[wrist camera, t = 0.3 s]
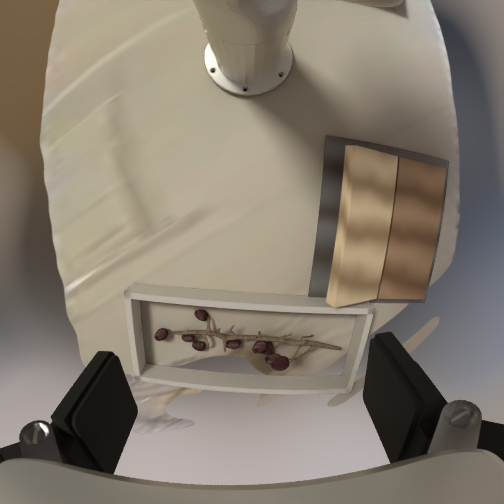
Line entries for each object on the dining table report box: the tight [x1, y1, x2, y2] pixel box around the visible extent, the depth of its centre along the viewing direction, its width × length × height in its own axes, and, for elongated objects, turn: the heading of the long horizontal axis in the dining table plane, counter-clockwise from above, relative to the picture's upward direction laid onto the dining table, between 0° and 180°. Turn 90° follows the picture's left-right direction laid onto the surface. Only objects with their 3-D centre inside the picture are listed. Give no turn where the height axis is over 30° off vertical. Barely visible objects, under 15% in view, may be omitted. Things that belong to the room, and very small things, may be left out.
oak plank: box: [326, 145, 398, 308], centre depth 41 cm, size 22×9×2 cm, turn 176°
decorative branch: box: [154, 310, 342, 371], centre depth 47 cm, size 11×9×30 cm
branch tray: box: [124, 283, 375, 394], centre depth 47 cm, size 17×38×4 cm, turn 86°
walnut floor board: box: [308, 136, 449, 303], centre depth 43 cm, size 25×22×2 cm
